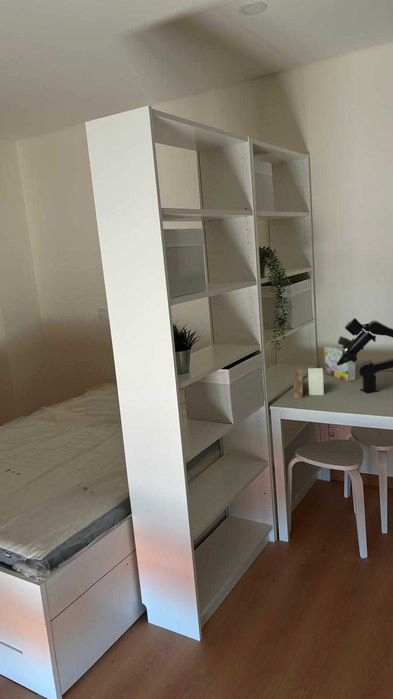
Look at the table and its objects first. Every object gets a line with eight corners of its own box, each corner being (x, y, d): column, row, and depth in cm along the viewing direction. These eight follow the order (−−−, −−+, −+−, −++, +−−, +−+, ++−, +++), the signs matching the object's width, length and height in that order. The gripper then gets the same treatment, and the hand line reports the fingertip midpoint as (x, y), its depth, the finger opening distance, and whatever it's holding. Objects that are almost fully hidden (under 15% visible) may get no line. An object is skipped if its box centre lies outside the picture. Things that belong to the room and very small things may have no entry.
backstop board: (303, 386, 279) (302, 369, 277) (302, 398, 260) (302, 380, 258) (295, 386, 280) (294, 370, 278) (294, 398, 261) (293, 380, 259)
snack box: (324, 373, 301) (323, 347, 298) (333, 372, 302) (332, 346, 299) (347, 382, 281) (346, 354, 278) (356, 380, 283) (356, 352, 280)
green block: (323, 389, 272) (322, 368, 270) (323, 394, 263) (322, 373, 260) (309, 389, 274) (308, 368, 272) (309, 395, 264) (308, 373, 262)
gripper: (346, 327, 268) (324, 349, 272) (349, 334, 250) (325, 358, 254) (363, 342, 268) (341, 364, 272) (367, 350, 250) (343, 373, 254)
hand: (337, 364), depth 263 cm, fingers closed
